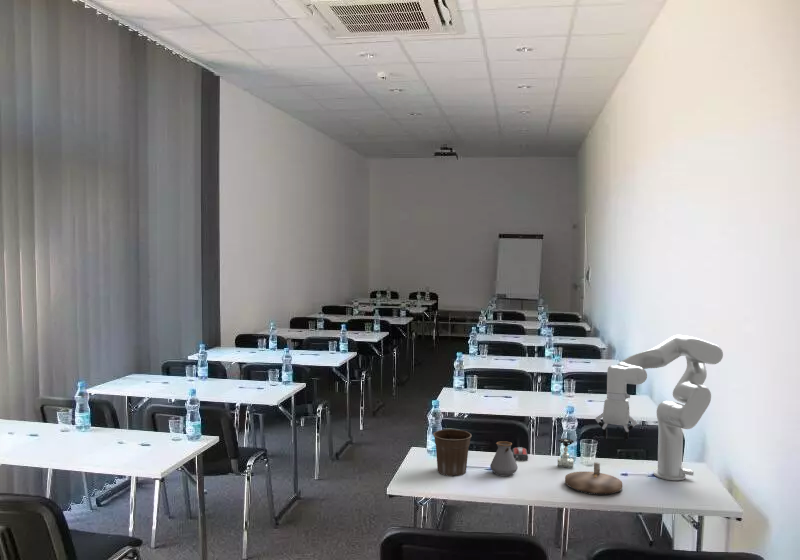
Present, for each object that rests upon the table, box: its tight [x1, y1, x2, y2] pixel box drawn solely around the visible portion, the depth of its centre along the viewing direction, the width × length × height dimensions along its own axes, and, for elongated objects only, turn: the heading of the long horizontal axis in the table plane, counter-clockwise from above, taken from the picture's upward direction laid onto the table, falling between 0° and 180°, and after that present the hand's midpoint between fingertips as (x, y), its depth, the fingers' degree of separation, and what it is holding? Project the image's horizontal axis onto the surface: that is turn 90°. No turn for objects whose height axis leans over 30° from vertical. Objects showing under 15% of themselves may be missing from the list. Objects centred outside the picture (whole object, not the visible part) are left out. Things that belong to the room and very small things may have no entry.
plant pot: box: [433, 428, 472, 477], centre depth 277 cm, size 16×16×16 cm
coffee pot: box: [490, 440, 518, 477], centre depth 272 cm, size 21×12×15 cm, turn 176°
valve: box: [557, 437, 575, 468], centre depth 287 cm, size 7×7×12 cm
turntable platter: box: [564, 462, 623, 495], centre depth 262 cm, size 22×22×6 cm
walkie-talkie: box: [511, 446, 529, 462], centre depth 298 cm, size 9×4×20 cm
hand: (615, 439), depth 267 cm, fingers open, 7 cm apart
